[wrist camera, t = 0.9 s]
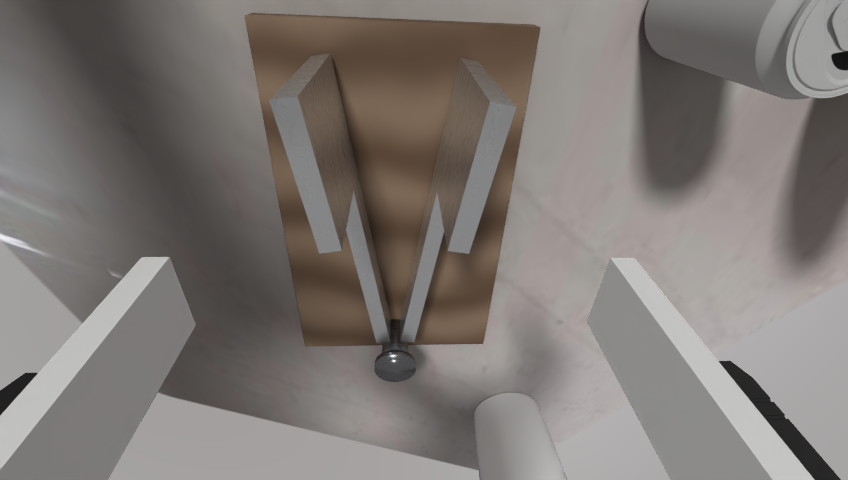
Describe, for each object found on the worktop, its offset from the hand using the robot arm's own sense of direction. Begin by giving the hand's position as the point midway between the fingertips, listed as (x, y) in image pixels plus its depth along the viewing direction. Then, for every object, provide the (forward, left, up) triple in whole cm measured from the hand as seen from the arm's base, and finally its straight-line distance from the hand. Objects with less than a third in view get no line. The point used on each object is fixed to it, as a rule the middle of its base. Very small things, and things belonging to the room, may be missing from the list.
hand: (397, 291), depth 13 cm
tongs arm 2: (+8, +3, -18) cm, 20 cm away
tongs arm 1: (+8, -3, -18) cm, 20 cm away
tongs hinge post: (+21, 0, -18) cm, 28 cm away
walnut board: (+9, 0, -20) cm, 22 cm away
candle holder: (+38, +14, -20) cm, 45 cm away
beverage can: (-7, +19, -20) cm, 28 cm away
